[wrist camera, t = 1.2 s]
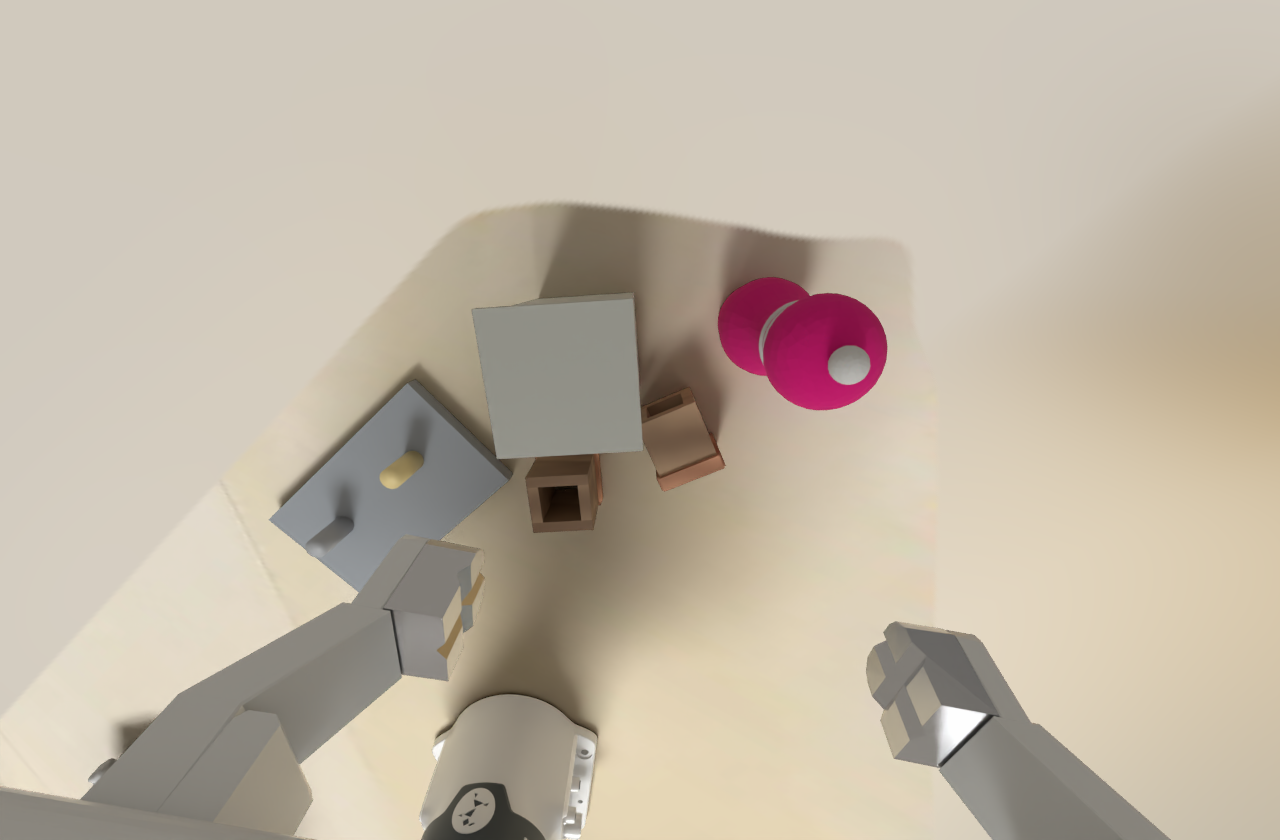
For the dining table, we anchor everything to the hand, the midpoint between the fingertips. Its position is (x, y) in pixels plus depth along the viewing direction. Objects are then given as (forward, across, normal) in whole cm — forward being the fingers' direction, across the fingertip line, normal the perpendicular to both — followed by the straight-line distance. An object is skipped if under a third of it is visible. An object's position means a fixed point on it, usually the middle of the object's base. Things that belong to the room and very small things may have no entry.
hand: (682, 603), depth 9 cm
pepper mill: (+33, +7, -4) cm, 34 cm away
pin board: (+27, -23, -24) cm, 43 cm away
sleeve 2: (+30, +2, -14) cm, 33 cm away
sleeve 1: (+28, -7, -20) cm, 35 cm away
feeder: (+31, -6, -9) cm, 33 cm away
